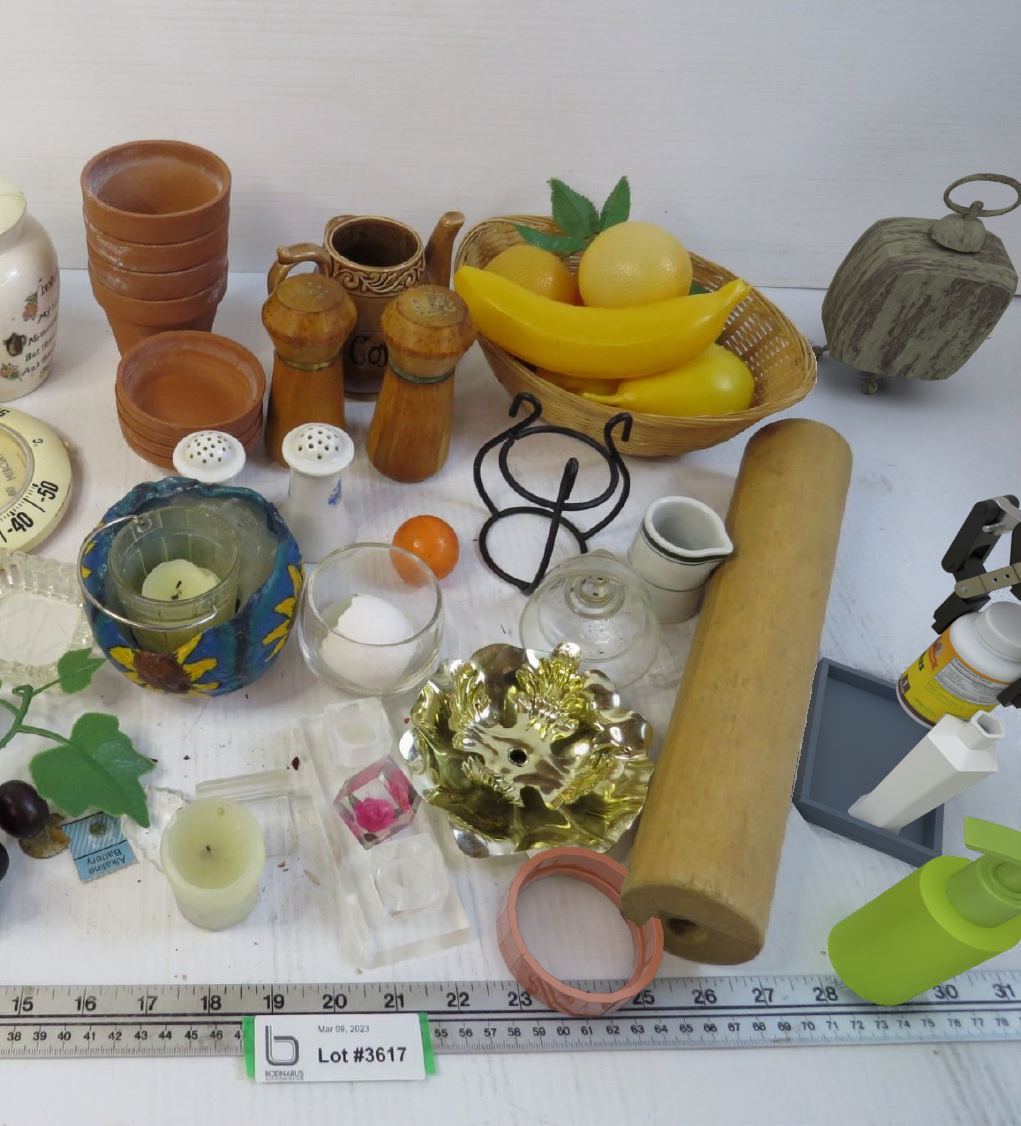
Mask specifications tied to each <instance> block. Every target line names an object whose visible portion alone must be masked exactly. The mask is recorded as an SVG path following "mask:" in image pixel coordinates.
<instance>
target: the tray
mask: <svg viewBox="0 0 1021 1126" xmlns="http://www.w3.org/2000/svg"><path fill="white" fill-rule="evenodd" d="M816 664H817V668H816V671H815V675H814V680H813V684H812V694H811V700H810V704H809V709H808V714H807V723H806V727H805V731H804V737H803V743H802V749H801V756H800V760H799V766H798V770H797V780H796V783H795V788H794V792H793V797H792V801H791V803H792V805H793V806H794V807H795V809H796V810H797V812H798V813H799V814H800V816H801V817H802V819H803V820H805V821H808V822H810V823H812V824H815V825H816V826H820V827H822V828H824V829H825V830H829V831H831V832H833V833H836V834H838V835H840V836H842V837H845V838H848V839H849V840H852V841H855V842H857V843H859V844H862V845H864V846H866V847H869V848H871V849H872V850H873V849H874V850H876V851H878V852H881V853H883V854H885V855H888V856H889V857H893V858H895V859H897V860H899V861H902V862H904V863H906V864H909V865H911V866H913V867H916V868H917V869H918V868H920V867H921V866H923V865H924V864H926V863H927V862H929V861H930V860H932V859H934V858H936V857H940V856H943V837H944V836H943V835H944V819H945V817H944V816H945V802H944V803H943V804H941V805H939V806H938V807H936V808H934V809H933V810H931V811H929V812H928V813H926V814H924V815H922V816H921V817H919V818H917V819H916V820H914V821H912V822H911V823H909V824H907V825H906V826H904V827H902V828H901V830H900V832H899V834H898V835H896V834H893V833H891V832H889V831H886V830H884V829H881V828H879V827H877V826H874V825H872V824H870V823H867V822H865V821H862V820H860V819H858V818H855V817H853V816H850V814H849V813H848V809H849V808H850V807H851V806H852V805H853V804H854V803H855V802H856V801H857V800H858V799H859V798H860V797H861V796H863V795H866V794H869V793H871V792H872V791H873V790H874V789H875V788H876V787H877V786H878V785H879V784H880V783H881V782H882V781H883V780H884V779H885V777H886V776H887V775H888V774H889V773H890V772H891V771H892V770H893V769H894V768H895V767H896V766H897V765H898V764H899V763H900V762H901V761H902V760H903V759H904V758H905V757H906V756H907V755H908V753H909V752H910V751H911V750H912V749H913V748H914V747H915V746H916V745H917V744H918V743H919V742H920V741H921V740H922V739H923V738H924V737H925V736H926V735H927V734H928V733H929V732H930V731H931V729H929V728H927V727H925V726H923V725H921V724H919V723H918V722H917V721H915V720H914V719H913V718H912V717H910V716H909V715H908V714H907V712H906V711H905V710H904V709H903V707H902V706H901V704H900V702H899V700H898V697H897V693H896V686H897V683H893V682H891V681H889V680H886V679H884V678H880V677H878V676H876V675H873V674H870V673H867V672H865V671H862V670H860V669H857V668H854V667H852V666H849V665H847V664H844V663H841V662H838V661H836V660H834V659H831V658H828V657H825V656H822V657H821V658H820V659H819V661H818V662H817V663H816Z"/></svg>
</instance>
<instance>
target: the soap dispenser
mask: <svg viewBox="0 0 1021 1126" xmlns="http://www.w3.org/2000/svg"><path fill="white" fill-rule="evenodd" d="M963 821H964V823H963V825H964V826H963V827H964V828H963V837H964V838H963V843H964V845H965V848H967V849H968V850H970V851H973V852H977V853H980V854H983V855H981V856H979V857H978V858H976V859H974V860H972V859H970V858H967V857H963V856H959V855H952V854H951V855H942V856H940V857H936V858H934V859H932V860H930V861H929V862H927V863H926V864H924V865H923V866H921V867H920V868H918V867H917V869H915V870H914V871H912V872H911V873H909V874H908V875H906V876H905V877H904V878H902V879H900V880H899V881H898V882H897V883H895V884H893V885H892V886H891V887H889V888H887V889H886V890H885V891H883V892H882V893H880V894H879V895H877V896H876V897H874V898H873V899H872V900H870V901H869V902H867V903H865V904H864V905H863V906H861V907H860V908H858V909H857V910H855V911H854V912H852V913H851V914H850V915H848V916H847V917H845V918H844V919H842V920H840V921H839V922H838V923H837V924H835V925H834V926H833V928H832V929H831V930H830V933H829V936H828V938H827V952H828V957H829V960H830V963H831V965H832V968H833V969H834V971H835V973H836V975H837V976H838V977H839V979H840V980H841V981H842V982H843V983H844V985H845V986H847V987H848V989H850V990H851V992H853V993H855V995H857V996H859V997H860V998H862V999H863V1000H866V1001H868V1002H870V1003H873V1004H876V1005H880V1006H885V1007H886V1006H888V1007H892V1006H898V1005H901V1004H904V1003H905V1002H907V1001H910V1000H911V999H913V998H916V997H917V996H919V995H922V994H923V993H925V992H927V991H929V990H931V989H933V988H935V987H937V986H939V985H941V984H943V983H945V982H947V981H950V980H951V979H954V978H955V977H957V976H959V975H962V974H963V973H966V972H967V971H969V970H971V969H973V968H975V967H977V966H979V965H981V964H984V963H985V962H987V961H989V960H991V959H993V958H995V957H997V956H999V955H1001V954H1003V953H1005V952H1007V951H1009V950H1011V949H1013V948H1014V947H1015V946H1017V945H1018V944H1019V942H1020V941H1021V831H1019V830H1017V829H1014V828H1011V827H1009V826H1005V825H1002V824H998V823H995V822H992V821H989V820H986V819H982V818H978V817H977V818H976V817H973V816H969V815H965V816H964V820H963Z"/></svg>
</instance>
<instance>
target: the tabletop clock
mask: <svg viewBox="0 0 1021 1126" xmlns="http://www.w3.org/2000/svg"><path fill="white" fill-rule="evenodd" d="M977 181H978V182H979V181H980V182H981V181H982V182H983V181H984V182H994V183H1000V184H1003V185H1007V186H1010V187H1011V188H1013V189H1014V190H1015V192H1016V193H1017V200H1016V201H1015V202H1014V204H1012V205H1010V206H1007V207H1003V208H999V209H983V208H984V207H985V204H984V201H981V200H975V201H973V202H972V203H971V204H970V205H969V207H967V206H963V205H960V204H958V203H957V202H954V201H953V200H952V199H951V198H950V194H951V192H952V191H953V190H954V189H955V188H957V187H959V186H962V185H963V184H964V185H965V184H966V183H970V182H971V183H972V182H977ZM943 202H944V204H945V206H946V208H948V209H949V210H951V211H953V212H952V213H949V214H947V215H945V216H943V217H941V218H940V219H939V218H938V219H937V218H926V217H915V216H914V217H913V216H892V217H886V218H882V219H881V218H880V219H877V221H875V222H874V223H873V224H871V225H870V226H869V227H868V228H867V229H866V230H865V231H864V232H863V233H862V234H861V235H860V237H858V239H857V240H856V242H854V244H853V245H852V247H851V248H850V250H849V251H848V253H847V254H846V256H845V257H844V259H843V260H842V262H841V263H840V265H839V266H838V268H837V269H836V270H835V271H836V272H835V273H834V275H833V278H832V280H831V282H830V284H829V286H828V288H827V291H826V292H825V295H824V298H823V301H822V304H821V321H822V326H823V331H824V335H825V336H824V337H825V339H826V344H825V345H823V346H820V345H812V346H811V347H812V350H813V352H814V353H815V356H816V358H817V359H816V360H820V358H821V357H822V356H823V355H824V352H827V351H828V354H829V357H831V358H833V359H834V360H836V361H837V362H839V363H842V364H844V365H846V366H848V367H851V368H853V369H856V370H859V371H865V372H869V373H872V374H871V376H870V379H867V380H865V381H864V382H862V383H861V385H860V388H861V391H862V393H863V394H866V395H872V394H874V393H875V392H877V391H878V389H879V385H878V383H877V382H876V381H877V380H878V378H879V376H880V375H881V376H886V377H887V376H888V377H893V378H902V379H910V380H917V381H928V382H931V381H933V382H935V381H943V380H947V379H949V378H950V377H951V376H953V375H954V374H955V373H957V372H958V371H959V370H960V369H962V367H964V366H965V364H966V363H967V362H968V361H969V360H970V359H971V358H972V357H973V355H974V354H975V353H976V352H977V350H978V349H979V348H980V347H981V345H982V344H983V343H984V342H985V341H986V340H987V338H988V337H989V336H990V335H991V333H992V332H993V331H994V329H995V327H996V326H997V325H998V323H999V321H1000V320H1001V318H1002V317H1003V315H1004V314H1005V312H1006V310H1007V309H1008V308H1009V306H1010V304H1011V302H1012V300H1013V298H1014V296H1015V295H1016V292H1017V288H1018V284H1019V279H1020V278H1019V275H1018V273H1017V271H1016V269H1015V267H1014V264H1013V263H1012V260H1011V258H1010V255H1009V253H1008V251H1007V249H1006V247H1005V245H1004V243H1003V241H1002V238H1001V237H1000V236H998V235H997V234H995V233H993V232H992V231H990V230H988V229H986V227H985V224H984V222H983V220H981V219H980V218H990V217H991V218H992V217H998V216H1002V215H1006V214H1008V213H1010V212H1012V211H1014V210H1016V208H1018V207H1020V206H1021V182H1020V181H1018V180H1017V179H1016V178H1014V177H1011V176H1008V175H1004V174H999V173H993V172H992V173H991V172H989V173H988V172H987V173H986V172H984V173H982V172H980V173H979V172H978V173H974V174H969V175H965V176H963V177H961V178H958V179H957V180H955V181H954V182H953V183H951V184H949V185H948V187H947V188H946V189H945V190H944V192H943Z"/></svg>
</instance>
